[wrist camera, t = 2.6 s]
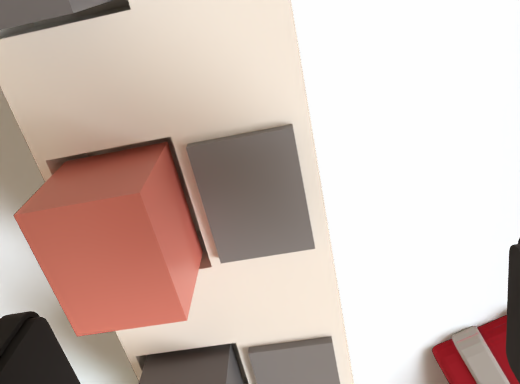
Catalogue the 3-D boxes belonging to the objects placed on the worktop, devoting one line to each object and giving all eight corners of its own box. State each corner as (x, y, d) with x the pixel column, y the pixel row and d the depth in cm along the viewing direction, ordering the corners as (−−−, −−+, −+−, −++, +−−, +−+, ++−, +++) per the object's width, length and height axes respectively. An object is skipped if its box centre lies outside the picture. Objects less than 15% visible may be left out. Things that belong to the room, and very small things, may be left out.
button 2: (66, 161, 14) (13, 214, 11) (167, 141, 14) (139, 192, 11) (111, 266, 16) (76, 336, 13) (202, 252, 15) (187, 320, 13)
